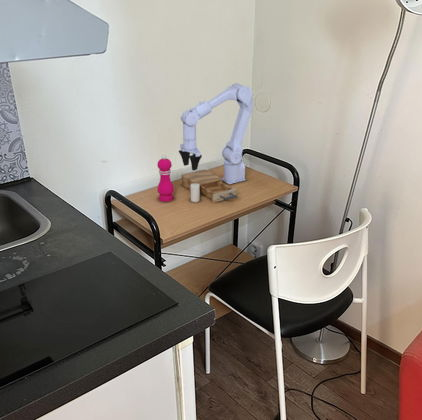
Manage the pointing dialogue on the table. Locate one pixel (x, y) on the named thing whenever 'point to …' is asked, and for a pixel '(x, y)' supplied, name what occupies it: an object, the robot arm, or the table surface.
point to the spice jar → (195, 192)
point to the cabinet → (199, 178)
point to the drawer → (218, 191)
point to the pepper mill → (165, 180)
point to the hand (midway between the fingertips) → (190, 167)
